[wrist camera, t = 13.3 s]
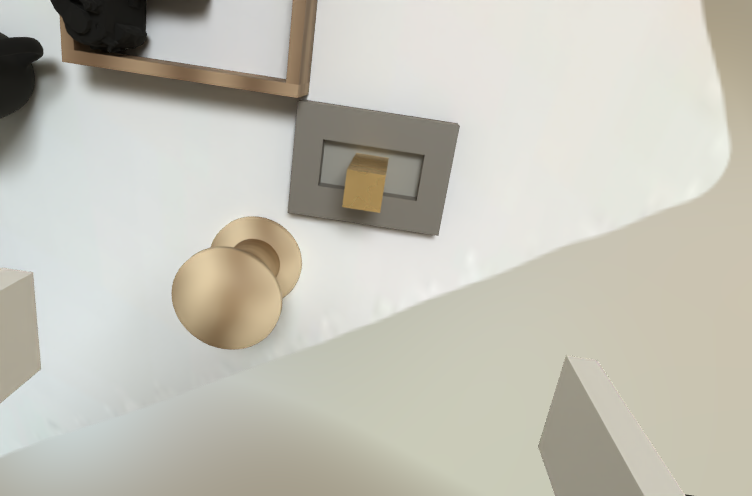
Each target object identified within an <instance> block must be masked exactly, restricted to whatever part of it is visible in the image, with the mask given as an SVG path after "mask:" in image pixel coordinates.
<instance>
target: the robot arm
mask: <svg viewBox="0 0 752 496" xmlns="http://www.w3.org/2000/svg"><path fill="white" fill-rule="evenodd" d="M39 370H41V363H40V351H39V339H38V327H37V315H36V303H35V291H34V279H33V272H27V271H20V270H14V269H7V268H0V403H1V402H2V401H4V400H5V399H6V398H7V397H8V396H10V395H11V394H12V393H13V392H14V391H15V390H17V389H18V388H19V387H20V386H21V385H23V384H24V383H25V382H26V381H27V380H29V379H30V378H31V377H32V376H33V375H35V374H36V373H37V372H38V371H39ZM538 448H539V450H540V453H541V456H542V459H543V462H544V465H545V467H546V470H547V473H548V476H549V479H550V482H551V485H552V488H553V491H554V494H555V496H692V495H686V494H684V492H683V491H682V489H681V488H680V486H679V485H678V483H677V482H676V480H675V479H674V477H673V476H672V474H671V473H670V471H669V470H668V468H667V466H666V465H665V463H664V462H663V460H662V459H661V457H660V456H659V454H658V453H657V451H656V449H655V448H654V446H653V445H652V443H651V442H650V440H649V439H648V437H647V436H646V434H645V432H644V431H643V429H642V428H641V427H640V425H639V423H638V422H637V420H636V419H635V417H634V416H633V414H632V413H631V411H630V409H629V408H628V406H627V405H626V403H625V402H624V400H623V399H622V397H621V396H620V394H619V393H618V391H617V390H616V388H615V386H614V385H613V383H612V382H611V380H610V379H609V377H608V376H607V374H606V373H605V371H604V370H603V368H602V366H601V365H600V363H599V362H598V360H594V359H587V358H581V357H575V356H568V355H566V358H565V361H564V364H563V367H562V371H561V374H560V377H559V380H558V383H557V387H556V390H555V393H554V396H553V400H552V403H551V406H550V409H549V413H548V416H547V419H546V422H545V426H544V429H543V432H542V435H541V439H540V442H539V445H538Z"/></svg>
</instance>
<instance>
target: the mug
mask: <svg viewBox="0 0 752 496" xmlns="http://www.w3.org/2000/svg"><path fill="white" fill-rule="evenodd" d="M42 56H43V47H42V46H41V44H40V43H39V42H38V41H37V40H36V39H34V38H29V37H13V38H9V37H7V36H6V35H4V34H2V33H0V118H2V117H4V116H7V115H9V114H11V113H13V112H15V111H16V110H18V109H19V108H21V107H22V106H23V105H24V104H25V103H26V102H27V101H28V99H29V98H30V96H31V94H32V92H33V88H34V71H33V68H32V65H31V63H32V62H34V61H36V60H38V59H39V58H41V57H42Z"/></svg>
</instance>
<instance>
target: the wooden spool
mask: <svg viewBox="0 0 752 496" xmlns="http://www.w3.org/2000/svg"><path fill="white" fill-rule="evenodd" d="M301 268H302V258H301V253H300V249H299V247H298V244H297V243H296V241H295V239H294V238H293V236H292V235H291V234H290V233H289V232H288V231H287V230H286V229H285V228H284V227H283V226H281V225H280V224H278V223H276V222H274V221H272V220H269V219H267V218H262V217H254V216H253V217H243V218H240V219H236V220H234V221H232V222H230V223H229V224H227V225H226V226H225V227H224V228H223V229H222V230H221V231H220V232H219V233H218V234H217V235H216V237H215V238H214V240H213V242H212V245H211V248H208V249H205V250H202V251H200V252H198V253H196V254H195V255H193V256H192V257H191V258H190V259H188V260H187V261H186V262H185V263H184V264H183V265H182V266H181V268H180V269H179V270H178V272H177V274H176V276H175V278H174V281H173V285H172V302H173V307H174V309H175V312H176V314H177V316H178V318H179V320H180V322H181V323H182V324H183V326H184V327H185V328H186V329H187V330H188V331H189V332H190V333H191V334H192V335H193V336H195V337H196V338H197V339H199V340H201V341H202V342H204V343H206V344H208V345H211V346H214V347H217V348H222V349H243V348H247V347H250V346H253V345H255V344H257V343H259V342H261V341H262V340H263V339H265V338H266V337H267V336H268V335H269V334H270V333H271V331H272V330H273V328H274V327H275V325H276V323H277V321H278V319H279V316H280V313H281V309H282V298H283V297H285V296H286V295H287V294H289V292H290V291H291V290H292V289H293V288H294V286H295V285H296V283H297V281H298V278H299V276H300V273H301Z"/></svg>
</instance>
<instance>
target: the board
mask: <svg viewBox="0 0 752 496" xmlns="http://www.w3.org/2000/svg"><path fill="white" fill-rule="evenodd" d="M459 127H460V126H459V125H458V123H452V122H445V121H439V120H432V119H426V118H419V117H413V116H406V115H400V114H393V113H387V112H380V111H374V110H367V109H361V108H354V107H348V106H341V105H335V104H328V103H322V102H315V101H309V100H299V101H298V105H297V116H296V127H295V138H294V149H293V160H292V171H291V182H290V193H289V204H288V213H295V214H301V215H308V216H314V217H321V218H327V219H333V220H340V221H346V222H353V223H359V224H366V225H372V226H379V227H385V228H392V229H398V230H405V231H411V232H418V233H424V234H431V235H437V236H438V234H439V229H440V224H441V219H442V214H443V209H444V203H445V198H446V193H447V188H448V183H449V178H450V173H451V168H452V162H453V157H454V152H455V147H456V142H457V137H458V132H459ZM356 153H361V154H367V155H374V156H380V157H387V158H389V160H388V166H387V173H386V179H385V186H384V192H383V198H382V204H381V210H380V213H377V212H371V211H364V210H358V209H351V208H345V207H342V205H343V197H344V189H345V181H346V173H347V168H348V167H349V165H350V163H351V161H352V159H353V158H354V156H355V154H356Z"/></svg>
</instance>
